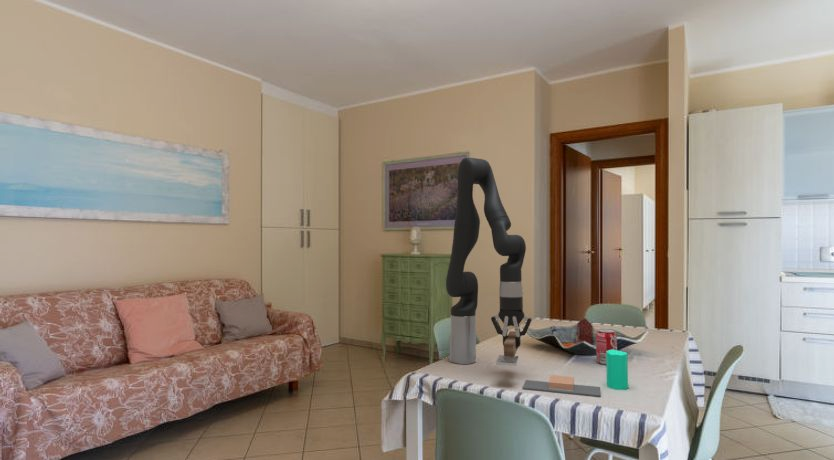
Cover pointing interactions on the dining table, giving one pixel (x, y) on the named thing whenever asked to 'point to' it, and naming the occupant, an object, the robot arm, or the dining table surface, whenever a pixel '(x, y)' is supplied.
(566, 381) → the tile
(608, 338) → the soda can
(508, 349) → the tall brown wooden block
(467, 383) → the dining table surface
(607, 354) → the candle
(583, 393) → the mat
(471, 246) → the robot arm
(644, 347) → the dining table surface
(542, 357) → the dining table surface
